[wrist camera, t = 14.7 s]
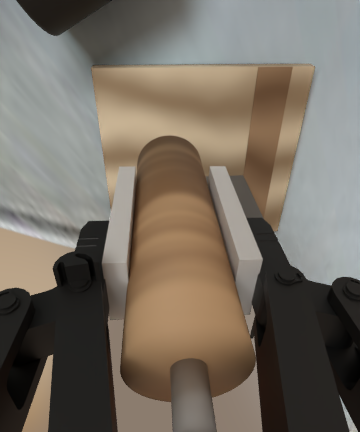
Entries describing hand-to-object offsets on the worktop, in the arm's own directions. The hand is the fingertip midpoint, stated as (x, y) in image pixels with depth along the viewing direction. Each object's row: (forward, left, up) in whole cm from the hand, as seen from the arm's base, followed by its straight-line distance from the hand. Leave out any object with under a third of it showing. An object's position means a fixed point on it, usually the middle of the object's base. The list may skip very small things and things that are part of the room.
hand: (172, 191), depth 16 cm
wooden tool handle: (0, 0, -3) cm, 3 cm away
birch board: (+6, +4, -17) cm, 18 cm away
